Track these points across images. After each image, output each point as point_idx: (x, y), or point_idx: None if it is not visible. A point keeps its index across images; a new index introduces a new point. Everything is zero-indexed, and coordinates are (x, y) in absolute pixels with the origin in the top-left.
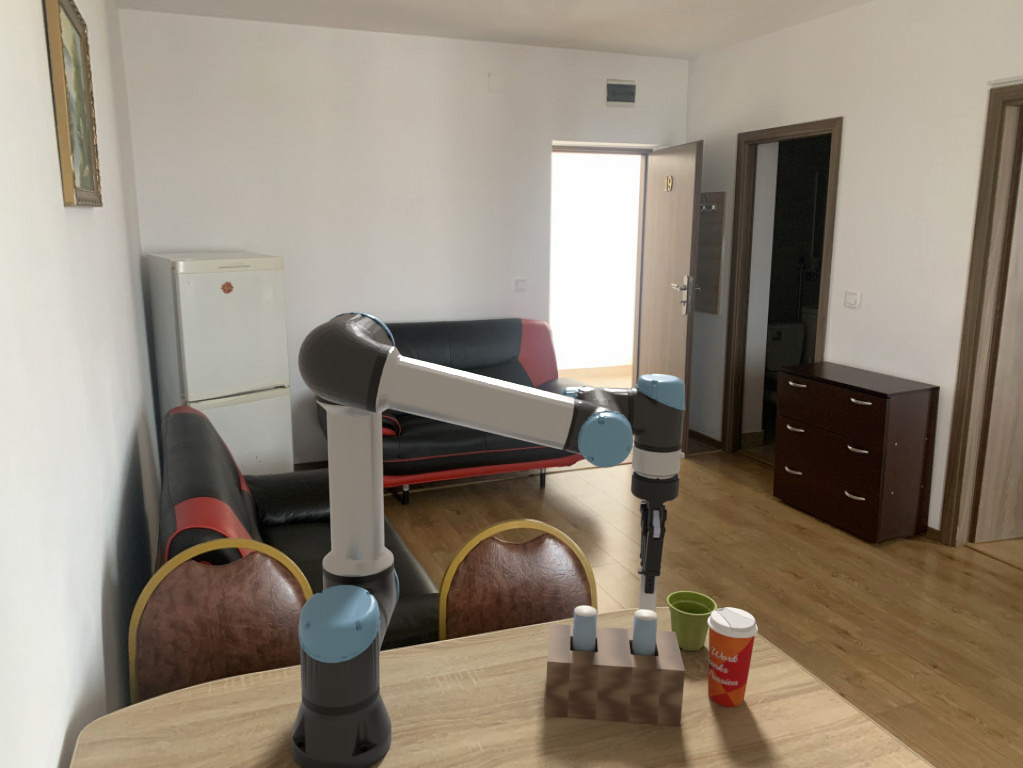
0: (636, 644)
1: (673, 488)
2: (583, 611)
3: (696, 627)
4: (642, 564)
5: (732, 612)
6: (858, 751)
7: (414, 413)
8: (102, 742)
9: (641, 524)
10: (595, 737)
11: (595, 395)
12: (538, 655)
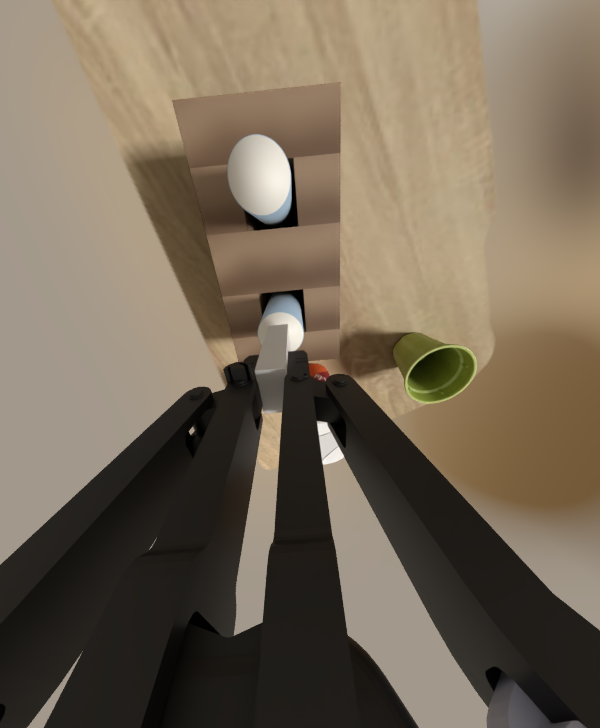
0: (268, 304)
1: None
2: (253, 170)
3: (401, 370)
4: (284, 381)
5: (337, 445)
6: (262, 451)
7: None
8: None
9: (267, 597)
10: (199, 239)
11: None
12: (379, 111)
